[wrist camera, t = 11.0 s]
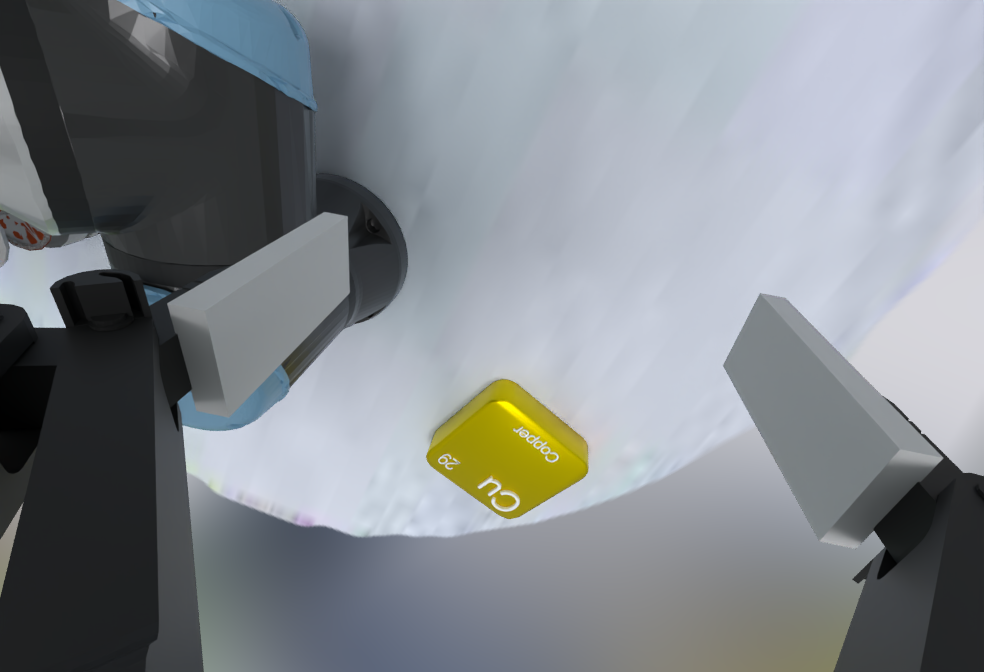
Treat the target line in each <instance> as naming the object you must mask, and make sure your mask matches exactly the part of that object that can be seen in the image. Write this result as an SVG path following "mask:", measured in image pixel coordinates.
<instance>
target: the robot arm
mask: <svg viewBox="0 0 984 672" xmlns="http://www.w3.org/2000/svg"><path fill="white" fill-rule="evenodd" d="M315 112H317V103H316V101H315V100H314V98H313V88H312V77H311V63H310V50H309V43H308V40H307V37H306V34H305V32H304V30H303V28H302V26H301V25H300V23H299V22H298V20H297V19H296V18H295V17H294V16H293V15H292V14H291V13H290V12H289V11H288V10H287V9H285V8H284V7H283V6H281V5H280V4H278V3H276V2H274V1H272V0H0V210H3V211H6V212H8V213H10V214H12V215H14V216H15V217H17V218H19V219H21V220H23V221H25V222H27V223H29V224H31V225H33V226H35V227H37V228H39V229H41V230H43V231H44V232H46V233H48V234H50V235H71V234H85V233H101V237H102V239H103V243H104V246H105V249H106V253H107V256H108V260H109V263H110V266H111V269H107V270H94V271H86V272H81V273H77V274H74V275H70V276H67V277H65V278H63V279H61V280H59V281H57V282H55V283H54V284H53V285H52V286H51V288H50V290H51V293H52V295H53V297H54V300H55V302H56V305H57V307H58V309H59V312H60V314H61V316H62V319H63V321H64V324H65V326H66V328H34V327H33V325H32V323H31V321H30V319H29V317H28V314H27V313H26V311H25V310H24V309H23V308H22V307H19V306H15V305H11V304H0V539H1V537H2V536H3V534H4V533H5V531H6V529H7V528H8V526H9V524H10V523H11V521H12V519H13V518H14V516H15V515H16V513H17V511H18V510H19V508H20V506H21V505H22V503H23V507H22V511H21V515H20V519H19V523H18V527H17V531H16V535H15V539H14V543H13V547H12V552H11V556H10V560H9V564H8V568H7V572H6V576H5V580H4V584H3V589H2V592H1V597H0V672H204V671H203V658H202V647H201V635H200V623H199V612H198V601H197V589H196V577H195V566H194V554H193V543H192V532H191V520H190V509H189V497H188V486H187V474H186V462H185V451H184V439H183V428H182V425H184V426H188V427H192V428H197V429H202V430H210V431H226V430H233V429H238V428H241V427H244V426H245V425H247V424H250V423H252V422H254V421H255V420H257V419H258V418H260V417H261V416H262V415H263V414H264V413H265V412H266V411H267V410H269V409H270V408H271V407H272V406H273V405H274V404H275V403H277V402H278V401H280V400H282V399H283V398H284V397H285V396H286V395H287V393H288V392H289V390H288V389H290V387H291V386H292V385H293V384H294V383H295V382H296V380H297V379H298V378H299V377H300V376H301V375H302V374H303V373H304V372H305V371H306V369H307V368H308V367H309V366H310V365H311V364H312V363H313V362H314V361H315V360H316V358H317V357H318V356H319V355H320V354H321V353H322V352H323V351H324V350H325V349H326V347H327V346H328V345H329V344H330V343H331V342H332V341H333V340H334V339H335V338H336V336H337V335H338V334H339V333H340V332H341V331H342V330H343V329H345V328H347V327H350V326H352V325H354V324H356V323H360V322H364V321H366V320H369V319H371V318H373V317H375V316H377V315H378V314H379V313H381V312H382V311H383V310H384V309H386V308H387V306H388V305H389V304H390V303H391V302H392V301H393V299H394V298H395V297H396V296H397V294H398V293H399V291H400V290H401V288H402V286H403V283H404V280H405V277H406V272H407V250H406V245H405V241H404V238H403V235H402V232H401V230H400V228H399V226H398V224H397V222H396V220H395V219H394V217H393V215H392V214H391V213H390V211H389V210H388V209H387V208H386V206H385V205H384V204H383V203H382V202H381V201H380V200H379V199H378V198H377V197H376V196H375V195H374V194H372V193H371V192H370V191H368V190H367V189H366V188H364V187H362V186H361V185H359V184H357V183H355V182H353V181H351V180H349V179H346V178H343V177H340V176H336V175H330V174H316V156H315ZM723 366H724V368H725V370H726V372H727V374H728V376H729V377H730V379H731V381H732V383H733V385H734V387H735V388H736V390H737V392H738V394H739V396H740V397H741V399H742V401H743V403H744V405H745V407H746V408H747V410H748V412H749V414H750V416H751V418H752V419H753V421H754V423H755V425H756V427H757V428H758V430H759V432H760V434H761V436H762V437H763V439H764V441H765V443H766V445H767V447H768V449H769V450H770V452H771V454H772V456H773V457H774V459H775V461H776V463H777V465H778V467H779V469H780V470H781V472H782V474H783V476H784V478H785V480H786V481H787V483H788V485H789V487H790V489H791V491H792V492H793V494H794V496H795V498H796V500H797V501H798V503H799V505H800V507H801V509H802V511H803V512H804V514H805V516H806V518H807V520H808V521H809V523H810V525H811V527H812V529H813V531H814V533H815V534H816V536H817V538H818V540H819V541H820V542H825V543H830V544H835V545H840V546H844V547H849V548H854V549H856V548H857V547H858V546H859V545H860V544H861V543H862V542H863V541H864V540H865V539H866V538H867V537H868V536H869V535H870V534H871V533H872V532H873V531H875V532H876V534H877V535H878V537H879V538H880V540H881V541H882V543H883V544H884V546H885V548H884V549H883V550H882V551H881V552H880V553H879V554H878V555H877V556H876V557H875V558H874V559H873V560H872V561H870V562H869V563H868V564H867V565H866V566H865V567H864V568H863V569H862V570H861V571H860V572H859V573H858V574H857V575H856V576H855V577H854V578H853V580H854V581H855V582H857V583H859V582H861V581H862V580H863V579H866V581H865V584H864V587H863V590H862V593H861V595H860V598H859V601H858V604H857V607H856V610H855V613H854V616H853V618H852V621H851V624H850V627H849V630H848V633H847V635H846V638H845V641H844V644H843V647H842V650H841V652H840V655H839V658H838V661H837V664H836V667H835V670H834V672H984V476H980V475H977V474H973V473H963V472H962V471H961V470H960V469H959V468H958V467H957V466H956V465H955V464H954V463H953V462H952V461H951V460H949V458H948V457H947V456H946V455H945V454H944V453H943V452H942V451H941V450H940V449H939V448H938V447H937V446H936V445H935V444H934V443H933V442H932V441H931V440H930V439H929V438H928V437H927V436H926V435H925V434H921V430H920V429H919V428H918V427H917V426H916V425H915V424H914V423H913V422H911V421H908V419H909V418H908V417H907V416H906V415H905V414H904V413H903V412H902V411H901V410H900V409H899V408H898V407H897V406H896V405H895V404H894V403H892V402H891V401H889V400H888V399H886V398H885V397H883V396H882V395H881V394H880V393H879V392H878V391H877V390H876V389H875V388H874V387H873V386H872V385H871V384H870V383H869V382H868V381H867V380H866V379H865V378H864V377H863V376H862V375H861V374H860V373H859V372H858V371H857V370H856V369H855V368H854V367H853V366H852V365H851V364H850V363H849V362H848V361H847V360H846V359H845V358H844V357H843V356H842V355H841V354H840V353H839V352H838V351H837V350H836V349H835V348H834V347H833V346H832V345H831V344H830V343H829V342H828V341H827V340H826V339H825V338H824V337H823V336H822V335H821V334H820V333H819V332H818V331H817V330H816V329H815V328H814V327H813V325H812V324H811V323H810V322H809V321H808V320H807V319H806V318H805V317H804V316H803V315H802V314H801V313H800V312H799V311H798V310H797V309H796V308H795V307H794V306H793V305H792V304H791V303H790V302H789V301H788V300H787V299H786V298H783V297H777V296H772V295H767V294H761V293H760V295H759V296H758V298H757V300H756V302H755V304H754V306H753V308H752V310H751V312H750V314H749V316H748V318H747V320H746V322H745V324H744V326H743V328H742V330H741V332H740V334H739V335H738V337H737V339H736V341H735V343H734V345H733V347H732V349H731V351H730V353H729V355H728V357H727V359H726V361H725V363H724V365H723Z"/></svg>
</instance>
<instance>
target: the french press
mask: <svg viewBox="0 0 984 672" xmlns="http://www.w3.org/2000/svg"><path fill="white" fill-rule="evenodd" d="M97 234H101V233H85V234H71V235H50V234H48V233H46V232H44V231H43V230H41V229H39V228H37V227H35V226H33V225H31V224H29V223H27V222H25V221H23V220H21V219H19V218H17V217H15V216H14V215H12V214H10V213H8V212H6V211H3V210H0V267H2V266H3V265H4V264H5V263H6V262H7V260H8V255H9V248H10V247H9V244H8V242H10V243H11V244H13V245H15V246H17V247H20V248H23V249H26V250H29V251H31V250H42V249H43V248H44V247H48V248H55V247H62V246H65V245H68V244H72V243H75V242H78V241H81V240H83V239H84V238H89V237H93V236H96V235H97ZM89 235H91V236H89Z"/></svg>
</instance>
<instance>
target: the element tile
mask: <svg viewBox="0 0 984 672" xmlns="http://www.w3.org/2000/svg"><path fill="white" fill-rule="evenodd" d="M426 458H427V462H428V463H429V464H430V466H432V467H433V468H434V469H435V470H437V471H438V472H439V473H441V474H442V475H444V476H445V477H446V478H448V479H449V480H450V481H452V482H453V483H455V484H456V485H457V486H459V487H460V488H462V489H463V490H464V491H466V492H467V493H469V494H470V495H471V496H473V497H474V498H475V499H477V500H478V501H480V502H481V503H482V504H484V505H485V506H487V507H488V508H489V509H491V510H492V511H494V512H495V513H496V514H498V515H500V516H502V517H504V518H507V519H512V518H517V517H520V516H522V515H523V514H525V513H526V512H528V511H530V510H531V509H533V508H535V507H536V506H538V505H540V504H541V503H543V502H545V501H546V500H548V499H550V498H551V497H553V496H555V495H556V494H558V493H560V492H561V491H563V490H565V489H566V488H568V487H570V486H571V485H573V484H575V483H576V482H578V481H580V480H581V479H583V478H584V477H585V476H586V474H587V473H588V445H587V443H586V441H585V440H584V439H583V438H582V437H581V436H580V435H579V434H578V433H576V432H575V431H574V430H573V429H571V428H570V427H569V426H568V425H567V424H565V423H564V422H563V421H562V420H561V419H559V418H558V417H557V416H556V415H554V414H553V413H552V412H551V411H550V410H548V409H547V408H546V407H545V406H543V405H542V404H541V403H540V402H539V401H537V400H536V399H535V398H534V397H532V396H531V395H530V394H529V393H528V392H526V391H525V390H524V389H523V388H521V387H520V386H519V385H518V384H516V383H515V382H513V381H510V380H504V379H501V380H498V381H495V382H493V383H492V384H490V385H489V386H488V387H487V388H486V389H484V390H483V391H482V392H481V393H480V394H479V395H477V396H476V397H475V398H474V399H473V400H471V401H470V402H469V403H468V404H467V405H466V406H464V407H463V408H462V409H461V410H460V411H459V412H457V413H456V414H455V415H454V416H453V417H451V418H450V419H449V420H448V421H447V422H446V423H444V424H443V425H442V426H441V427H440V428H439V429H437V431H436V432H435V435H434V437H433V440H432V442H431V445H430V447H429V450H428V452H427V455H426Z"/></svg>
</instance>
